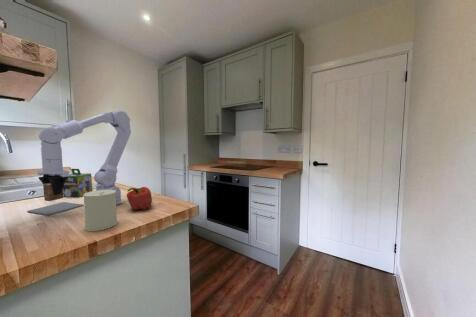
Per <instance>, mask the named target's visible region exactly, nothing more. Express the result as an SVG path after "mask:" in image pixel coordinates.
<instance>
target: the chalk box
mask: <svg viewBox="0 0 476 317" xmlns="http://www.w3.org/2000/svg"><path fill="white" fill-rule="evenodd" d="M75 171H76V172H75ZM92 191H94V190H93V180H92V173H90V172H89V173H88V172H87V173H86V172H85V173H82V172H81V171H80V169H79V168H71V174H70V173H69V176H68V178H67V180H66V181H65V183H64V186H63V197H64V198H82V197H84V196H83V195H84V194H85V193H88V192H92Z"/></svg>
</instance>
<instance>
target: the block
mask: <svg viewBox="0 0 476 317" xmlns="http://www.w3.org/2000/svg"><path fill="white" fill-rule="evenodd" d="M42 188H43V198H44V201H45V202H53V201H56V200H60V199H64V198H65V197H64V195H63V189H62V193H61V194H58V195H54V193H53V189H52V185H51V183H45V184H43V183H42Z"/></svg>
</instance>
